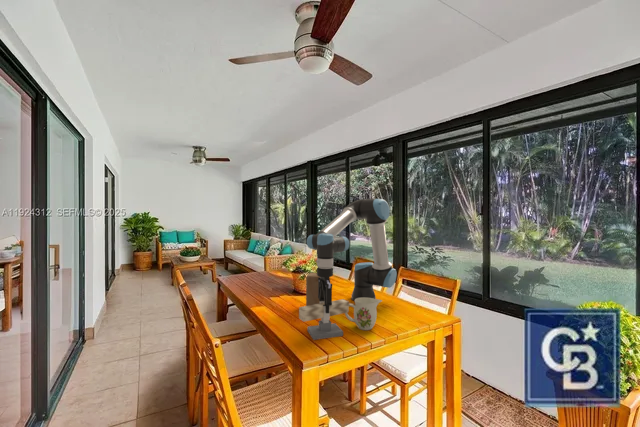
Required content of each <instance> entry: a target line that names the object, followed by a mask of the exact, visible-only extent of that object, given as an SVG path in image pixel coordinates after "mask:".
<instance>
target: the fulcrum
mask: <svg viewBox="0 0 640 427" xmlns="http://www.w3.org/2000/svg"><path fill="white" fill-rule="evenodd" d="M307 332H308V334H309V335H310V337H311V339H312V340H313V341H315V340H316V341H317V340H322V339H323V340H324V339H329V338H330V339H331V338H336V337H337V338H338V337H343V336H344V331H343V330H342V329H341V327H339V325H337V323H333V322H332V321H331V320H323V318H320V320H318V325H309V326H307Z"/></svg>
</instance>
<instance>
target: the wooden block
mask: <svg viewBox="0 0 640 427" xmlns="http://www.w3.org/2000/svg"><path fill="white" fill-rule="evenodd" d="M318 278H320V277H319V276H317V272H310V273H308V274H307V275H306V278H305V281H306V282H305V287H306V288H305V289H306V292H305V302H306V303H305V306H309V305H314V304H320V301H319V298H318Z"/></svg>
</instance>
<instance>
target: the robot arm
mask: <svg viewBox="0 0 640 427" xmlns="http://www.w3.org/2000/svg"><path fill="white" fill-rule="evenodd" d="M341 211H342V212H340V214H339V215H337V216H336V217H335V218H334V219H333V220H332V221H331V222H330V223H328V224H327V225H325V227H324V228H322V229H321V230H320V231H319V232H318V233H316V234H310V235H308V237H307V238H306V245H307V247H308V248H309V249H311V250H314V251H315V250H316V251H317V252H316V259H317V260H315V263H316V266H317V267H316V273H317V276H319V277H320V278H318V298H319V301H320V303H324V305H323V306H324V318H323V320H330V318H331V316H330V306H331V305H332V301H333V298H332V297H333V283H331V279H330V277H333V276H334V268H333V267H334V254H337V253H343V252H346V251H347V250H349V248H350V239H349V238H347V237H346V236H341V235H339V236H338V234H340V233H341V232H342V231H343V230H344V229H345V228H346V227H348V225H350V224H351V223H353V222H355V221H356V220H361V219H363V220H365V221H366V222H365V223H366V224H367V225H368V226H369V231H370V233H369V234H370V240H371V246H372V247H371V248H372V256H373V262H374V263H373V262H368V261H367V262H359V263H356V264H355V265H354V272H353V274H354V277H353V278H354V288H353V290H352V293H351V300H352V301H354V302H355V299H356V298H362V297H366V298H374V299H377V298H376V294H375V289H374V286H378V287H382V288H389V289H390V288H393V286H394V285H395V283H396V280H397V270H396V269H395V268H394V267H393V265H392V263H391V262H390V260H389V255H388V254H389V253H388V252H389V251H388V244H387V236H386V227H385V224H386V223H387V221H388V219H389V217H390V212H391V209H390V206H389V203H388V202H387V201H386V200H385V199H382V198H365V199H364V198H361V199H358V200H355V201H353V202H350V203H349V204H348V205H346V206H345V207H344V208H343V209H342V210H341ZM330 321H331V320H330Z"/></svg>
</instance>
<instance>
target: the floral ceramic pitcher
mask: <svg viewBox="0 0 640 427" xmlns="http://www.w3.org/2000/svg"><path fill="white" fill-rule="evenodd" d="M381 302H383V300H382V299H377V298H376V299H374V298H366V297H362V298H356V299H355V301H354V303H349V307H352V309H353V317H351V316H350V315H349V314H348V313H349V312H347V313H344V315H345V317H346V318H347V320H349V321H350V322H353V323H355V324H356V327H357V328H358V329H359V330H362V331H370V330H372V329H373V327H374V326H375V324H376V321H377V314H378V312H377V306H378V305H379V303H381Z"/></svg>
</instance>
